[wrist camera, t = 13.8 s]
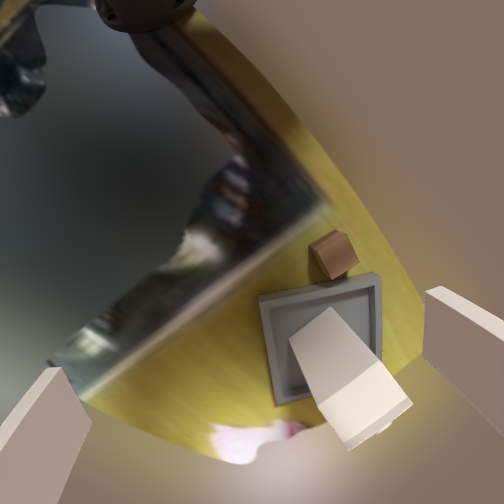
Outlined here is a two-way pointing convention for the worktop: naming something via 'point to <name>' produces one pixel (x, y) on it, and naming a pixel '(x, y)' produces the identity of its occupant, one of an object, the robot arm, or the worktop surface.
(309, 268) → the worktop surface
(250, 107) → the worktop surface
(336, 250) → the walnut block
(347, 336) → the milk carton
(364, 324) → the tray
